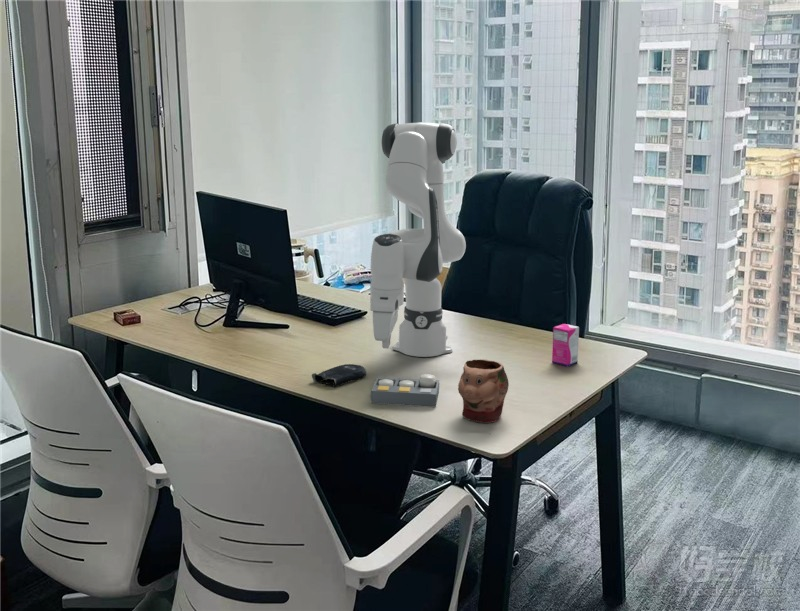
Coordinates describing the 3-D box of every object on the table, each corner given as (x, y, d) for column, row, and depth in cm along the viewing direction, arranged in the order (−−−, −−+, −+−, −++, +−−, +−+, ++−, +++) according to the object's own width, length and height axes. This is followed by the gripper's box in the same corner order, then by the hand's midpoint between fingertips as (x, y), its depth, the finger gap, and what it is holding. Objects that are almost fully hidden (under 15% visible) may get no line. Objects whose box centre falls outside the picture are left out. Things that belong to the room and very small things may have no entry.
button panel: (377, 389, 234) (377, 376, 233) (438, 392, 232) (439, 379, 231) (371, 403, 223) (371, 389, 222) (435, 407, 221) (436, 393, 220)
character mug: (470, 398, 228) (472, 348, 224) (515, 404, 224) (517, 354, 220) (448, 424, 210) (450, 371, 206) (496, 432, 206) (499, 378, 202)
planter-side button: (420, 382, 230) (420, 373, 229) (435, 383, 229) (435, 374, 229) (419, 387, 226) (419, 378, 225) (434, 388, 225) (434, 379, 225)
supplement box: (561, 358, 263) (564, 322, 260) (578, 363, 259) (580, 326, 256) (550, 362, 259) (553, 326, 256) (567, 367, 255) (569, 330, 252)
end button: (379, 387, 231) (379, 378, 231) (394, 388, 231) (394, 379, 230) (377, 392, 228) (377, 383, 227) (392, 393, 227) (392, 384, 226)
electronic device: (338, 395, 234) (373, 374, 245) (334, 376, 232) (370, 355, 243) (313, 392, 240) (349, 371, 251) (309, 373, 238) (345, 353, 249)
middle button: (400, 388, 231) (400, 379, 230) (414, 389, 230) (414, 380, 230) (398, 393, 227) (398, 384, 226) (413, 394, 226) (413, 385, 226)
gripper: (380, 286, 233) (380, 334, 237) (369, 306, 214) (368, 358, 217) (403, 287, 232) (402, 335, 236) (394, 307, 213) (393, 359, 217)
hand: (386, 346), depth 227 cm, fingers closed
